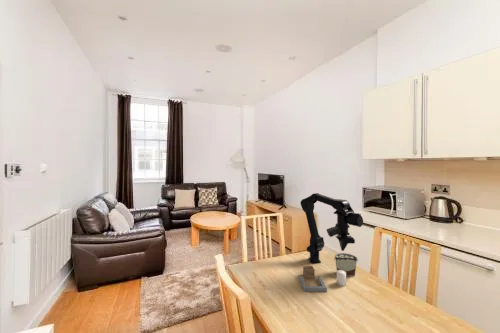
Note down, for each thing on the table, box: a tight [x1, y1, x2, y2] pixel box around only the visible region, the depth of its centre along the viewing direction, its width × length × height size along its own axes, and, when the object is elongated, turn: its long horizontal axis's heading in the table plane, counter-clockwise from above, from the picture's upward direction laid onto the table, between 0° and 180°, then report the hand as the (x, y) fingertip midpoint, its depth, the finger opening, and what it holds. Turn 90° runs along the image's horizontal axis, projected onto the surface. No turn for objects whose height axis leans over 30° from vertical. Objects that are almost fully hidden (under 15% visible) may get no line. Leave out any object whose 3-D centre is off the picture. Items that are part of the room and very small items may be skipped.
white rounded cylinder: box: [336, 270, 347, 287], centre depth 116 cm, size 4×4×6 cm
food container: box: [333, 252, 359, 277], centre depth 127 cm, size 12×6×10 cm, turn 84°
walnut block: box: [302, 264, 315, 280], centre depth 123 cm, size 5×5×5 cm
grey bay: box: [298, 275, 328, 293], centre depth 114 cm, size 12×11×2 cm
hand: (342, 250), depth 127 cm, fingers closed
